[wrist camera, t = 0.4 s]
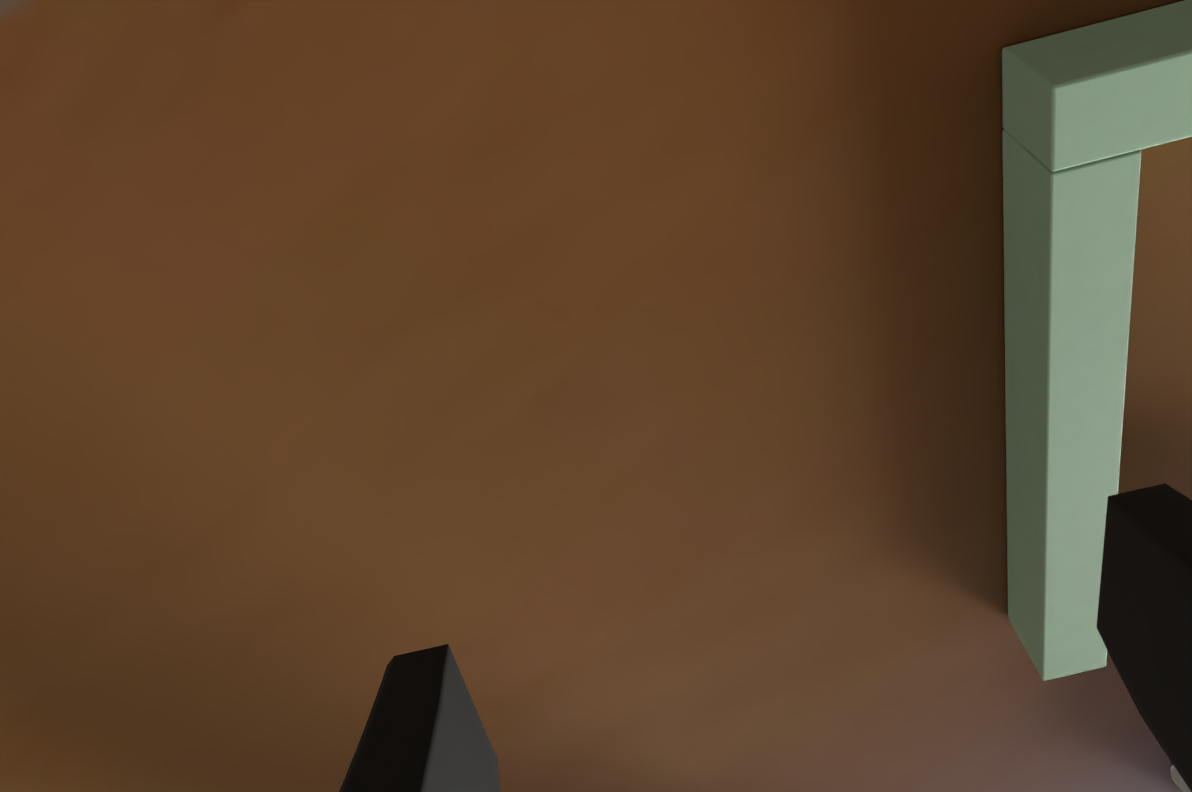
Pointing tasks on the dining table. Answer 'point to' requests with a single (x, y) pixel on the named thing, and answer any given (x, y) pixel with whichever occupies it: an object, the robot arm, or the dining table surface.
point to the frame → (1075, 301)
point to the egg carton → (1178, 779)
